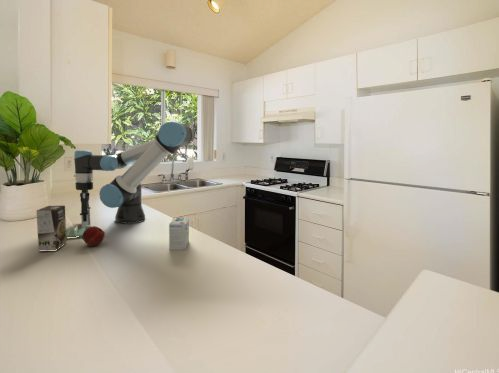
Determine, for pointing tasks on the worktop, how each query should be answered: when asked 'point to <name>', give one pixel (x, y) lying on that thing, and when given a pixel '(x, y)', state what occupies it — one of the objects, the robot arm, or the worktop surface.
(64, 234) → the coffee box
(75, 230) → the board
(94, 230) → the apple
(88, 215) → the plug
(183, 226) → the light bulb box
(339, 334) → the worktop surface
